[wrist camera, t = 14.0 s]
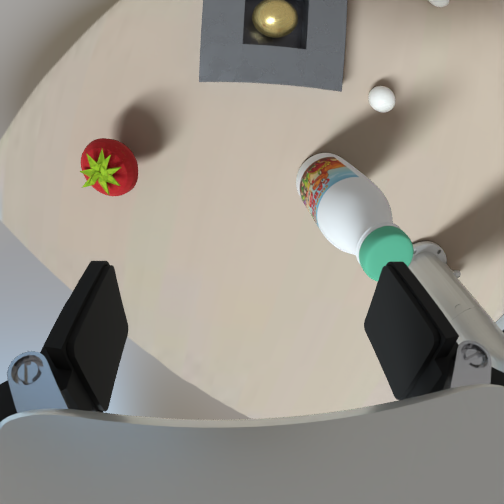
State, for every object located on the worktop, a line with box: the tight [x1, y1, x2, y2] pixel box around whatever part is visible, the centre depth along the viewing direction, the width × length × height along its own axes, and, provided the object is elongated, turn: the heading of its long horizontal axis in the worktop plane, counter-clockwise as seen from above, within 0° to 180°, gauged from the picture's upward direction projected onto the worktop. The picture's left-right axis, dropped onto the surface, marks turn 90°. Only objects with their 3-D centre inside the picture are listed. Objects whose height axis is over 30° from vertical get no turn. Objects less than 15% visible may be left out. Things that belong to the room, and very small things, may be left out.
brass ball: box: [252, 0, 298, 38], centre depth 27 cm, size 5×5×5 cm
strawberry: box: [80, 138, 138, 196], centre depth 32 cm, size 6×8×10 cm
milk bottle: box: [296, 153, 414, 281], centre depth 31 cm, size 8×8×20 cm
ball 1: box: [368, 86, 396, 112], centre depth 33 cm, size 4×4×4 cm
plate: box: [199, 0, 347, 92], centre depth 28 cm, size 16×16×3 cm
